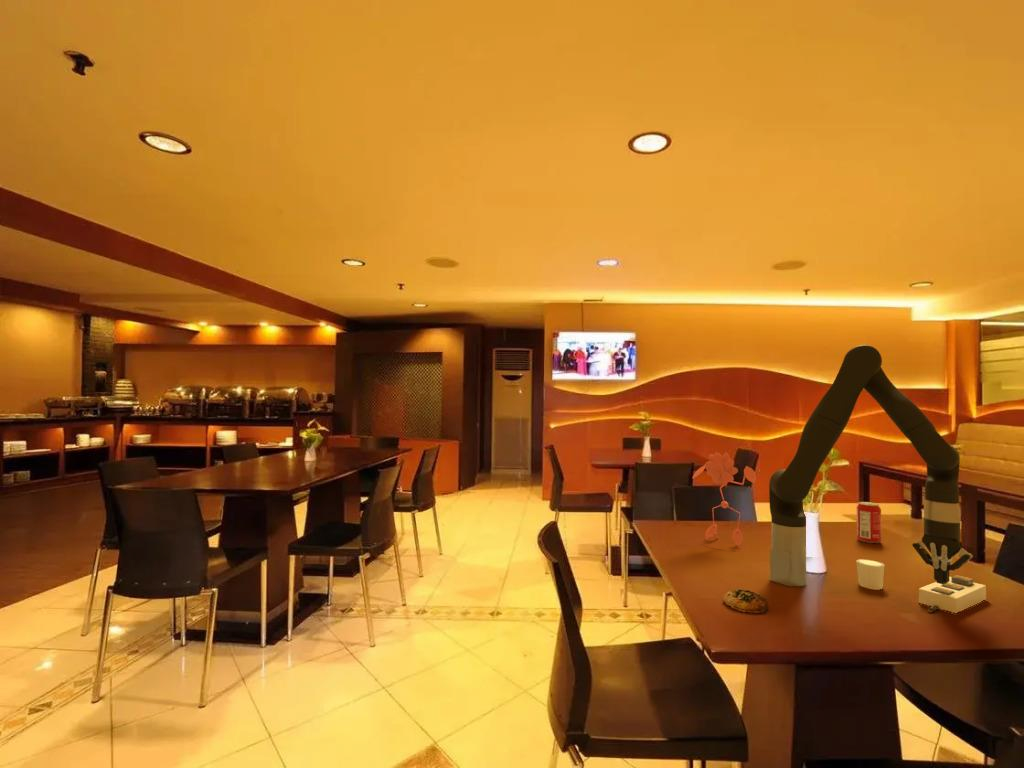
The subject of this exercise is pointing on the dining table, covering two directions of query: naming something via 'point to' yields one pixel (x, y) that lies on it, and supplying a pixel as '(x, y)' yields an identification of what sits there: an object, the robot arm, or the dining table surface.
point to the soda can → (869, 522)
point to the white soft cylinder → (870, 573)
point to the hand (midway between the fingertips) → (941, 583)
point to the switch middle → (953, 586)
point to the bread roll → (746, 601)
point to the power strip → (952, 596)
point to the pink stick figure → (723, 471)
